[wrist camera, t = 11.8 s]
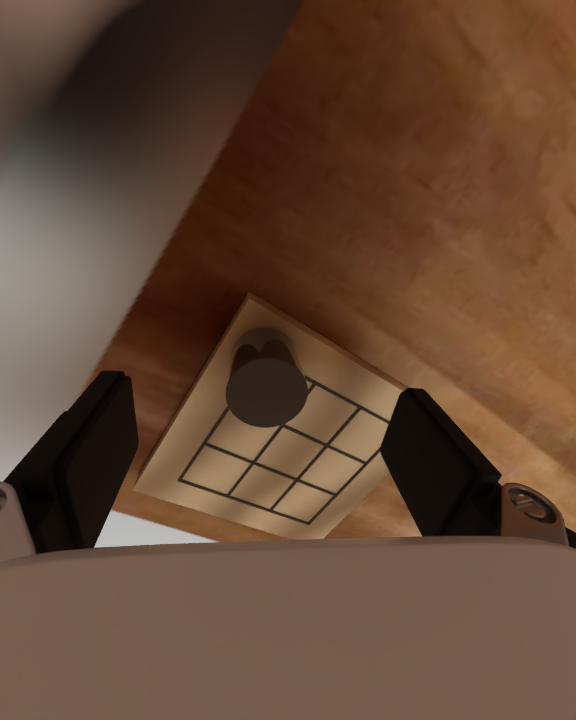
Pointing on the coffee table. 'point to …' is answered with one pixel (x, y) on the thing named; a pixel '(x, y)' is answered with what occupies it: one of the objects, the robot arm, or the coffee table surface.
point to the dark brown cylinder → (265, 379)
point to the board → (277, 439)
